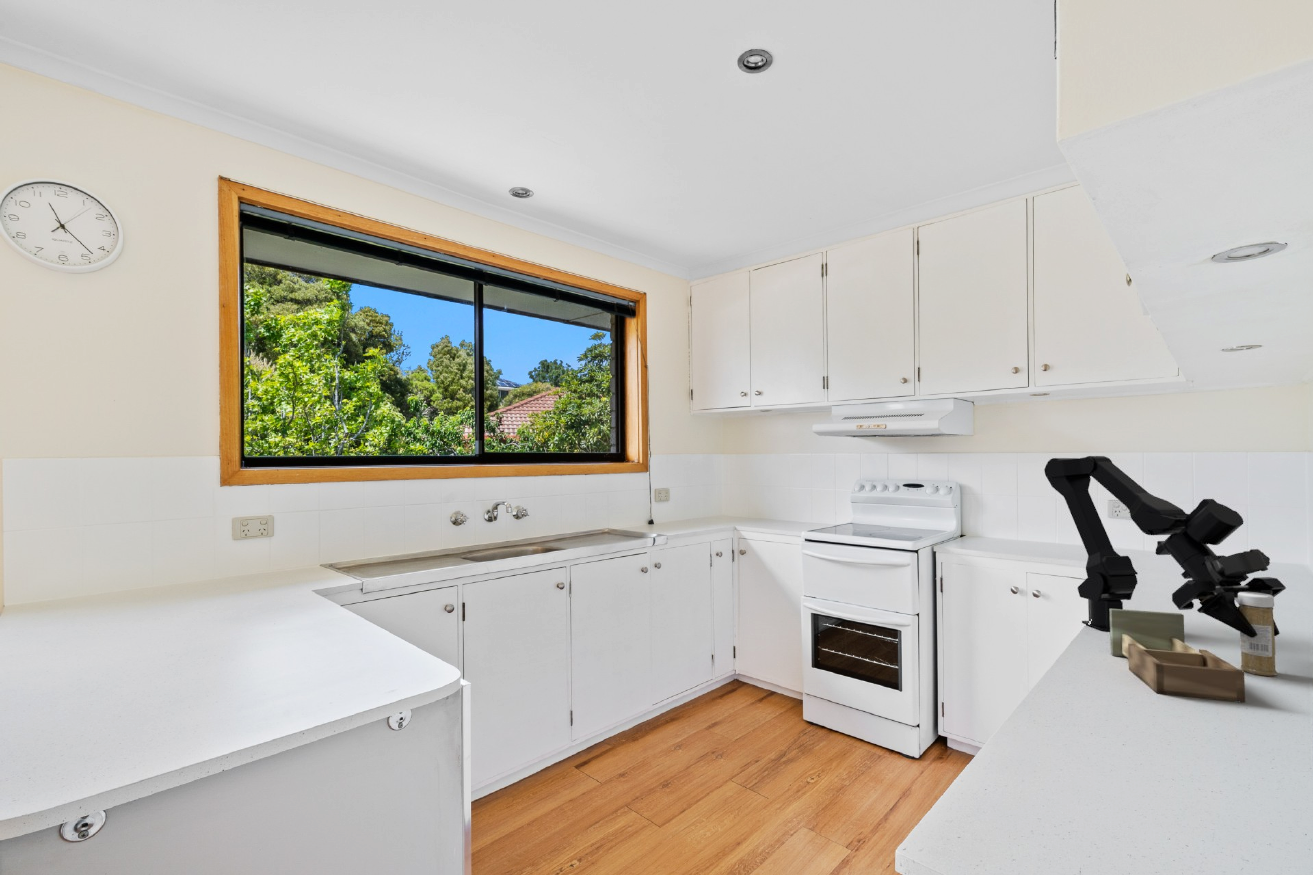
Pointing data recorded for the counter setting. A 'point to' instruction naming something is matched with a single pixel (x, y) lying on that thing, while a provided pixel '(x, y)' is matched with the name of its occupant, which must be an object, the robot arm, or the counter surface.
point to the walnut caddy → (1189, 676)
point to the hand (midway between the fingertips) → (1265, 635)
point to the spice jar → (1258, 633)
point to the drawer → (1152, 636)
